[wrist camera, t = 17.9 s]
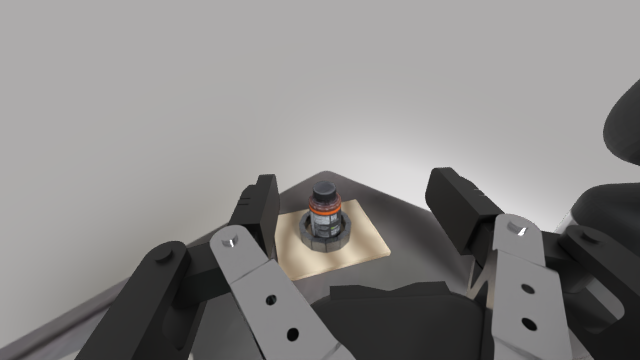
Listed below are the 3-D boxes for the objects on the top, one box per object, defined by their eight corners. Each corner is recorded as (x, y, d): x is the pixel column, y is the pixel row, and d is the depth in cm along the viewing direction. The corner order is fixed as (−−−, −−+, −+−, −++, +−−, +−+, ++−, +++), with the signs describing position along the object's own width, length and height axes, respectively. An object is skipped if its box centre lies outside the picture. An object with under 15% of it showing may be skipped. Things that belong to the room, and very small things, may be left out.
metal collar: (340, 211, 50) (340, 202, 49) (358, 245, 42) (359, 235, 41) (296, 220, 48) (295, 212, 47) (306, 258, 40) (305, 248, 39)
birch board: (355, 202, 55) (355, 199, 54) (389, 254, 42) (390, 251, 41) (272, 219, 50) (271, 216, 50) (281, 283, 37) (280, 280, 37)
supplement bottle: (320, 218, 49) (318, 174, 43) (345, 228, 46) (347, 182, 40) (305, 237, 44) (300, 190, 38) (332, 248, 42) (331, 201, 36)
